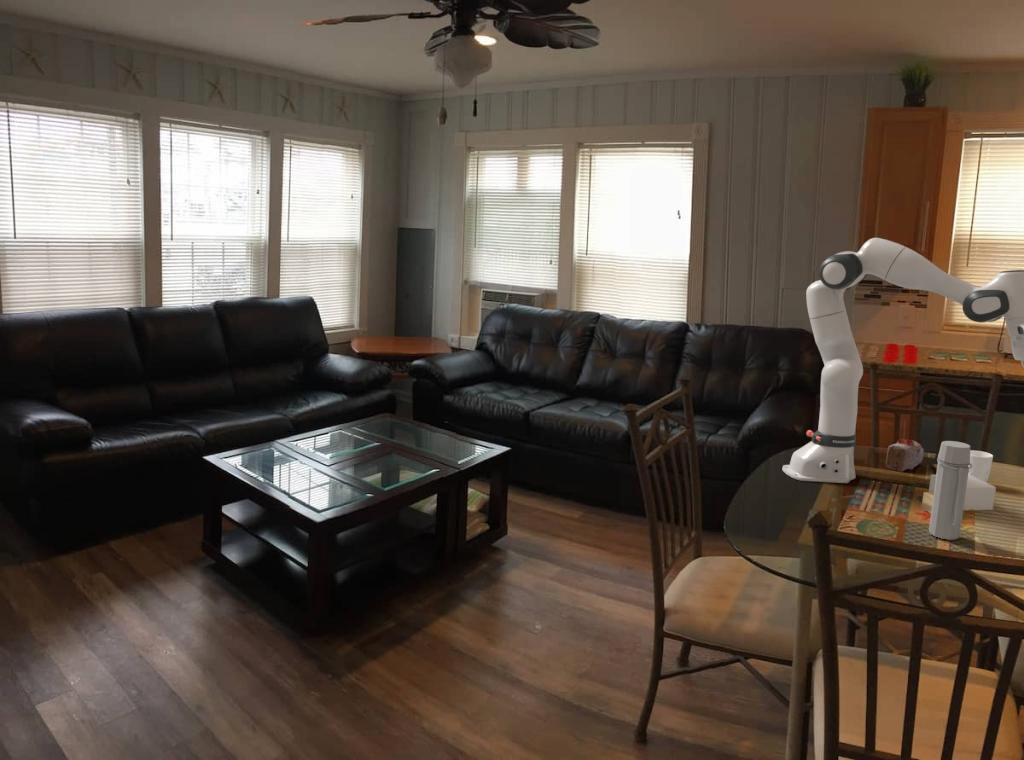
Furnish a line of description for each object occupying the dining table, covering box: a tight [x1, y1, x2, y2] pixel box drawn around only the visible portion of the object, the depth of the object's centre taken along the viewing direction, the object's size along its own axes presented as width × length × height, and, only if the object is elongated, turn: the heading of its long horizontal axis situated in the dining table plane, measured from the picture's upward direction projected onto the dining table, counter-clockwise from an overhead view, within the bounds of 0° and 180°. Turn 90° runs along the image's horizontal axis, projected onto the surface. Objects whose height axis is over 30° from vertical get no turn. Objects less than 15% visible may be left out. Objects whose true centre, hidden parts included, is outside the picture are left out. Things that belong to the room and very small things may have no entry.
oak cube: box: [921, 491, 934, 514], centre depth 225 cm, size 5×5×5 cm
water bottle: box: [928, 440, 972, 541], centre depth 204 cm, size 9×8×25 cm
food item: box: [885, 438, 925, 473], centre depth 267 cm, size 14×8×10 cm, turn 132°
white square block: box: [928, 474, 997, 511], centre depth 233 cm, size 12×12×7 cm
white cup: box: [968, 449, 994, 483], centre depth 250 cm, size 8×8×10 cm
